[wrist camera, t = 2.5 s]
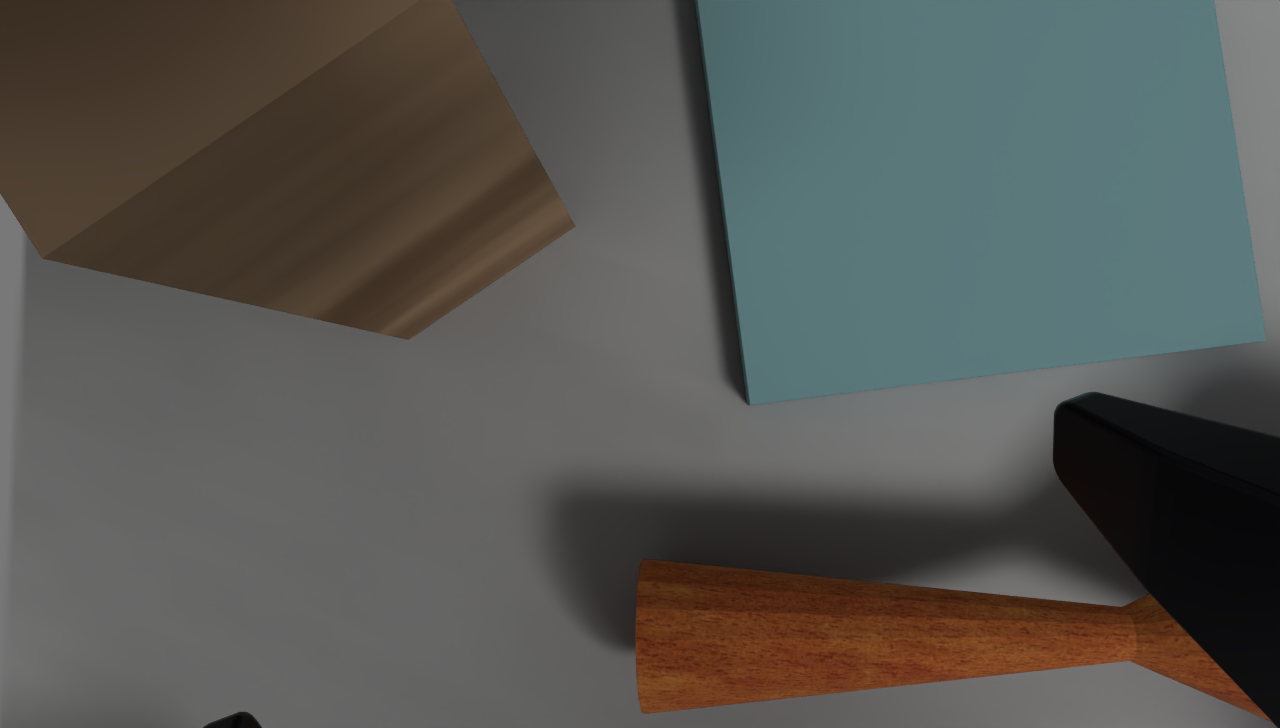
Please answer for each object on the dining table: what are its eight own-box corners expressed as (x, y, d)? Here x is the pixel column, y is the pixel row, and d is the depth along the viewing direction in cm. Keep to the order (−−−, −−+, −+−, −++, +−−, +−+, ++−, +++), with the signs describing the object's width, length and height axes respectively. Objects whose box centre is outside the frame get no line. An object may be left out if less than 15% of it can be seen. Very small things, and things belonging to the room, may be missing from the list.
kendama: (628, 814, 17) (1865, 839, 14) (626, 489, 18) (1756, 466, 16) (658, 751, 22) (1543, 761, 20) (655, 509, 24) (1485, 494, 22)
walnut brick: (575, 226, 22) (443, -16, 9) (408, 339, 22) (41, 258, 9) (463, 62, 22) (182, -398, 9) (299, 174, 22) (-209, -130, 9)
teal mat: (1244, 342, 22) (1266, 340, 21) (747, 404, 22) (750, 404, 21) (1170, -142, 22) (1189, -162, 21) (685, -74, 22) (685, -91, 22)
